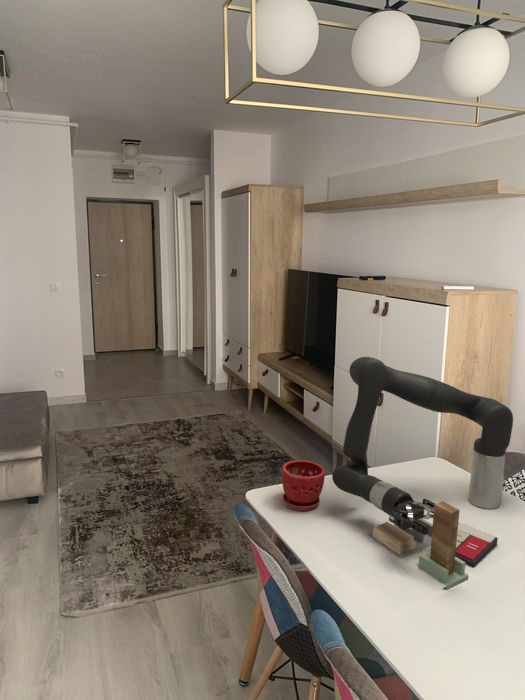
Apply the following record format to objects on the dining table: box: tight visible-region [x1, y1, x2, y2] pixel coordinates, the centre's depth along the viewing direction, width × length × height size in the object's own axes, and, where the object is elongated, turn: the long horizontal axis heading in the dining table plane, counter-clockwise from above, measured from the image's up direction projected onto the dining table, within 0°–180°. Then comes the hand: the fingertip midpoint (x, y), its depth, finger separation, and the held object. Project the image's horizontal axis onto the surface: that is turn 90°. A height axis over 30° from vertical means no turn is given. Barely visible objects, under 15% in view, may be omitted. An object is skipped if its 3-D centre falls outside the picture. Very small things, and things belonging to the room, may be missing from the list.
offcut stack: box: [372, 521, 416, 554], centre depth 146 cm, size 6×10×3 cm, turn 32°
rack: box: [366, 518, 433, 559], centre depth 148 cm, size 16×13×4 cm
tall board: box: [429, 500, 460, 575], centre depth 133 cm, size 3×5×17 cm, turn 32°
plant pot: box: [281, 459, 326, 511], centre depth 168 cm, size 13×13×12 cm
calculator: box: [455, 522, 499, 568], centre depth 144 cm, size 11×4×15 cm
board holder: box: [414, 553, 469, 591], centre depth 134 cm, size 8×10×4 cm
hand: (438, 526), depth 134 cm, fingers open, 8 cm apart
